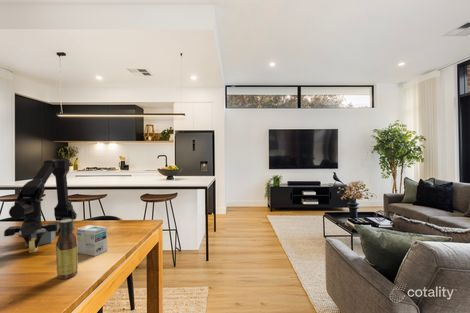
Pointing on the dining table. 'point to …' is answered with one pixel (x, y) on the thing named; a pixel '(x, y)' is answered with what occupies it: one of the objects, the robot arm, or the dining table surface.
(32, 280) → the dining table surface
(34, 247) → the block
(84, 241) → the light bulb box
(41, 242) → the coin box
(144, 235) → the dining table surface
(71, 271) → the sauce bottle
